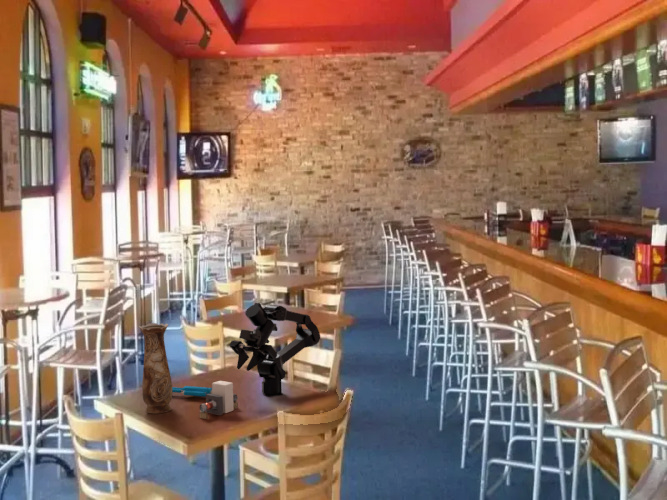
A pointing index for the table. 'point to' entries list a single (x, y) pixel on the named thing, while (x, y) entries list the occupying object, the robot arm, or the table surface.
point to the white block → (224, 394)
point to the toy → (193, 391)
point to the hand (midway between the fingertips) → (242, 369)
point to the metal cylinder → (213, 407)
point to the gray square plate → (218, 401)
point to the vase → (156, 370)
